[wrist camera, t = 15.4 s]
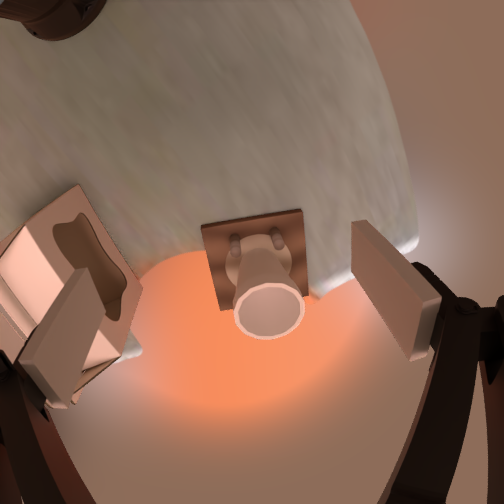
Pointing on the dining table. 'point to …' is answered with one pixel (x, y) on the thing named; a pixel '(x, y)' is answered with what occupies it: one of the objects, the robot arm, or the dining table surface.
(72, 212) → the gable box
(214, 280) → the pin board
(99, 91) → the dining table surface
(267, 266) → the foam cup
